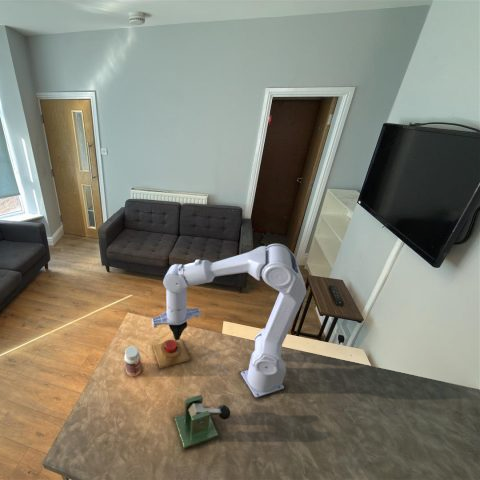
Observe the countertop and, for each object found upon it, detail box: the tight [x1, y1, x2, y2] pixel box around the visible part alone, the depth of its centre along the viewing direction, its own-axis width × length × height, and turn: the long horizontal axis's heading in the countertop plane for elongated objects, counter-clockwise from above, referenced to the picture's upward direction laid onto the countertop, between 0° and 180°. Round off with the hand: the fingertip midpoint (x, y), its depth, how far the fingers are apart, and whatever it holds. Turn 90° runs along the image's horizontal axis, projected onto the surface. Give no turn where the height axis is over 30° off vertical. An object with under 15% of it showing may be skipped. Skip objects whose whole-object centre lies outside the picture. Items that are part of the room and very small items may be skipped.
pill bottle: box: [124, 345, 142, 377], centre depth 80 cm, size 5×5×8 cm
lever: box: [188, 403, 231, 421], centre depth 65 cm, size 12×3×3 cm, turn 107°
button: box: [165, 339, 176, 353], centre depth 85 cm, size 4×4×2 cm
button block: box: [152, 338, 191, 369], centre depth 86 cm, size 10×8×3 cm
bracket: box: [174, 394, 219, 450], centre depth 65 cm, size 9×7×9 cm
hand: (176, 337), depth 81 cm, fingers closed
